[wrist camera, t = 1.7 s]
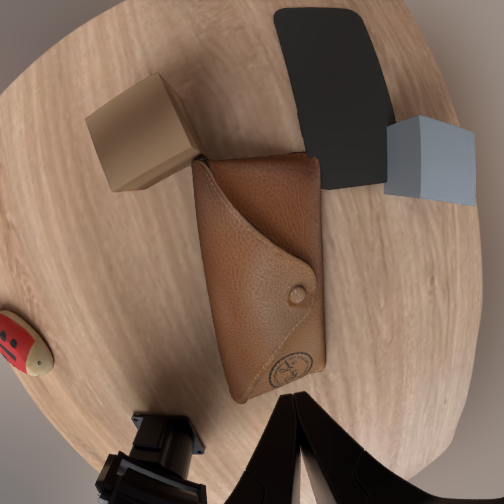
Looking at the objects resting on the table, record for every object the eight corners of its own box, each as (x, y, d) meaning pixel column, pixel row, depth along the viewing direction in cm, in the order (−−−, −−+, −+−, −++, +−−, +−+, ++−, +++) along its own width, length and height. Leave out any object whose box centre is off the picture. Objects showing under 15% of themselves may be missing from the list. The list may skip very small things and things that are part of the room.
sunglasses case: (331, 372, 21) (301, 428, 16) (260, 359, 25) (218, 402, 20) (319, 145, 17) (275, 133, 12) (233, 160, 21) (169, 160, 15)
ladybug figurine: (56, 379, 23) (42, 397, 20) (2, 337, 22) (-14, 350, 19) (56, 338, 22) (38, 355, 18) (-1, 294, 21) (-20, 305, 17)
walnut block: (207, 156, 18) (191, 146, 13) (145, 189, 18) (112, 192, 13) (179, 97, 17) (157, 71, 12) (120, 131, 17) (85, 118, 12)
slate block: (434, 200, 18) (474, 206, 13) (383, 194, 18) (420, 198, 13) (434, 139, 17) (474, 132, 12) (383, 128, 17) (419, 114, 12)
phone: (358, 9, 14) (407, 180, 17) (355, 14, 15) (402, 180, 18) (269, 8, 14) (313, 192, 18) (269, 14, 15) (311, 192, 19)
